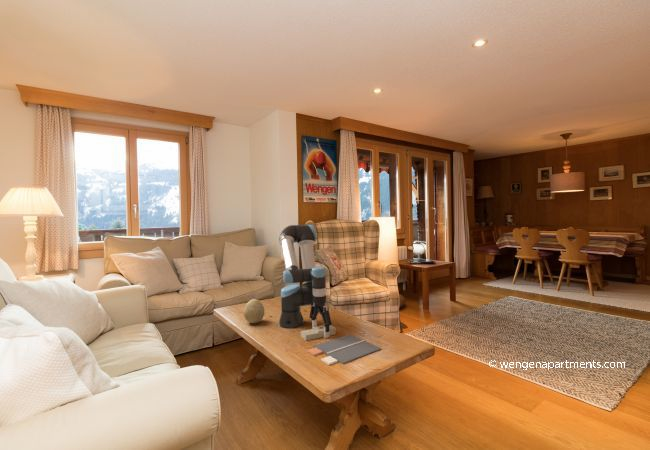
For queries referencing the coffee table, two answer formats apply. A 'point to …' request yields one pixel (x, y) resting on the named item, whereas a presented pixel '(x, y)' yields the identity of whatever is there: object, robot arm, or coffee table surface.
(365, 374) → the coffee table surface
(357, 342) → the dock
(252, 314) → the fossilized egg
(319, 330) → the electrical outlet
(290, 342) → the coffee table surface
